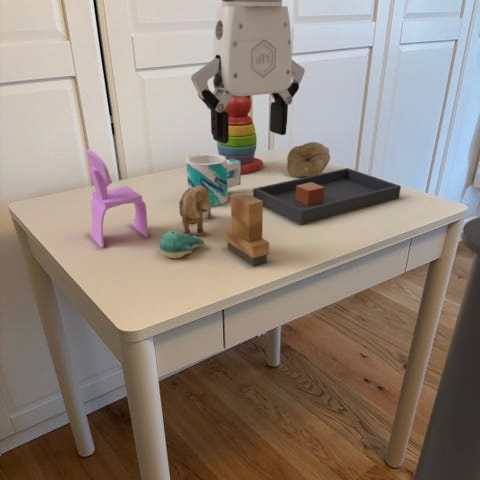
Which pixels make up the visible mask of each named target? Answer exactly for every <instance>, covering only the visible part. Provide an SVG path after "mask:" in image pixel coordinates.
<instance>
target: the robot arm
mask: <svg viewBox="0 0 480 480" xmlns="http://www.w3.org/2000/svg"><path fill="white" fill-rule="evenodd" d="M212 40H213V41H212V58H211V59H212V60H211V61H209V62H208V63H207V64H205V65H204V66H202V67H201V68H200V69H199V70H197V71H195V72H194V73H193V74H192V75H191V77H190V78H191V79H190V80H191V82H192V85H193V86H194V88H195V90H196V92H197V96H198V98H200V100H201V101H202V102H203V103H204V105H205V106H206V108H207V109H208V110H210V133H211V135H212V139H213V140H214V141H216V142H217V141H218V142H221V143H223V144H225V143H228V141H229V115H228V112H225V108H226V106H227V105H228V103H229V101H230V100H231V98H232V96H233V95H235V96H250V95H251V96H259V95H268V94H269V95H270V96H271V97H272V99H273V100H274V101H272V102H271V103H270V108H269V109H270V111H269V131H270V132H271V133H274V134H277V135H280V136H286V134H287V127H288V126H287V125H288V113H289V112H288V110H289V106H290V105H291V104H292V103H293V98H294V97H295V95H296V94H297V93H298V91H299V89H300V84H301V82H302V80H303V78H304V75H305V72H306V70H305V68H304V67H303V66H302V65H300V64H299V63H298V62H296V61H294V60H293V56H292V55H293V54H292V30H291V21H290V13H289V8H288V6H285V5H284V6H283V0H221V5H218V6H217V10H216V14H215V21H214V31H213V39H212ZM211 78H212V85H213V88H214V90H213V91H211V90H210V88H209V85H208V81H209V80H210V79H211Z"/></svg>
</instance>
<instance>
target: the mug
mask: <svg viewBox="0 0 480 480" xmlns="http://www.w3.org/2000/svg"><path fill="white" fill-rule="evenodd" d="M185 163H186V176H187V190H188V189H190V188H193V187H196V186H199V185H200V186H202V187H205V188H206V189H207V192H208V195H209V203H210V204H211V205H210V207H211V208H212V207H217V206H221V205H223V204H225V203H227V202H228V201H229V200H228V189H231V188H234V187H238V186H241V185H242V177H241V175H242V174H241V165H240V161H239V160H235V159H229V160H226V157H224V156H221V155H219V154H217V153H200V154H192V155H191V156H189V157H186V158H185ZM227 172H228V174H227Z"/></svg>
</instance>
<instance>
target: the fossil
mask: <svg viewBox="0 0 480 480" xmlns="http://www.w3.org/2000/svg"><path fill="white" fill-rule="evenodd" d="M286 157H287V158H286V161H287V163H286V170H287V173H288V174H289V175H290V176H292V177H293V178H304V177H309V176H313V175H318V174H322V172H323V171H324V170H325V169H326V167H327V165H328V164H329V162H330V160H331V155H330V149H329V148H328V146H327V147H326V146H325V145H324V144H323V143H320V142H316V141H310V142H307V143H304V144H302V145H301V144H300V145H296V146H294V147H293V148H291V149H290V150H289V152H288V154H287V156H286Z"/></svg>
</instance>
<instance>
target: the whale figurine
mask: <svg viewBox="0 0 480 480" xmlns="http://www.w3.org/2000/svg"><path fill="white" fill-rule="evenodd" d="M183 233H184V232H178V231H175V230H174V231H173V230H170V231H167V232H166V233H164V234H163V235H162V236H161V237H160V239H159V244H158V245H159V252H160V254H162V255H163V256H165V257H166V258H169V259H180V258H182V257H184V256H186V255H188V254H191V253H192V252H193V249H195V248H196V247H202V246H203V245H205V241H204V240H203V238H201V237H199V236H197V235H191V234H190V235H187V234H183Z"/></svg>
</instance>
